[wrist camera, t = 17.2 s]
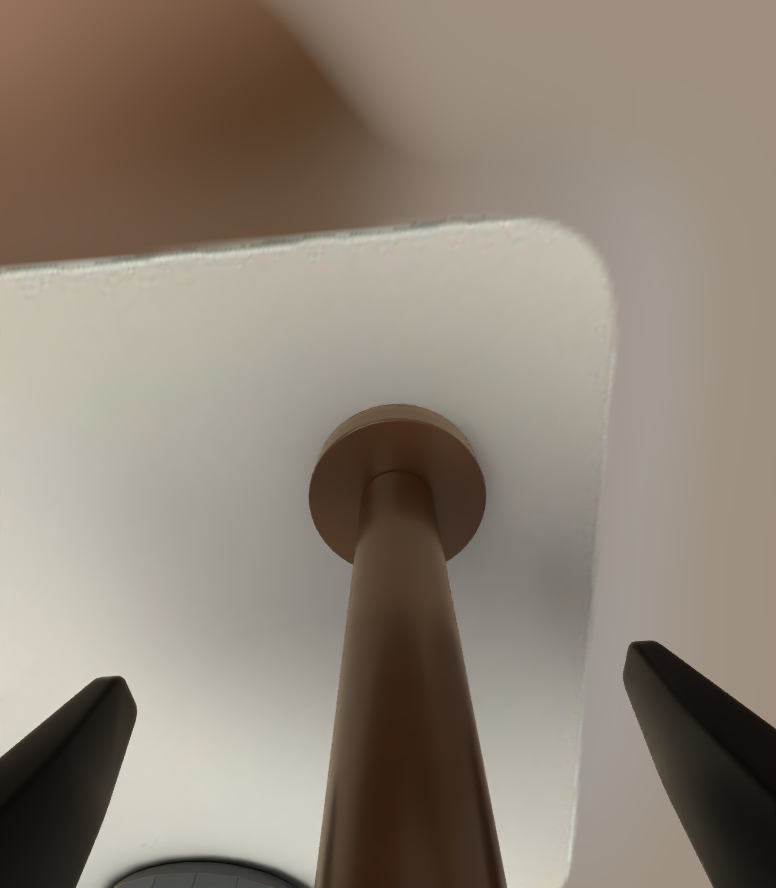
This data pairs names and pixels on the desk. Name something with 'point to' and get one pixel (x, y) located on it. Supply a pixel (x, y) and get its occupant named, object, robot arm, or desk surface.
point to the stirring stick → (403, 659)
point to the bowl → (201, 877)
